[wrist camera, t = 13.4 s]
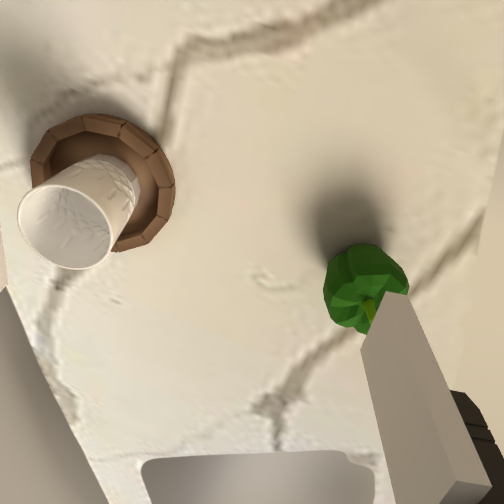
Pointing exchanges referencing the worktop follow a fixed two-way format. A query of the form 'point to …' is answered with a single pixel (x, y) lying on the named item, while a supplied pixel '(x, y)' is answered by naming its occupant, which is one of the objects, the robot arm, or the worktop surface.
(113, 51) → the worktop surface
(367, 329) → the bell pepper
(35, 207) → the white cup
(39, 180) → the ring tray
